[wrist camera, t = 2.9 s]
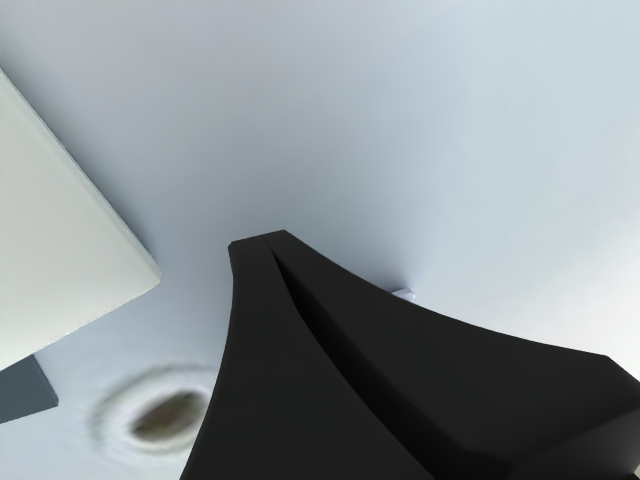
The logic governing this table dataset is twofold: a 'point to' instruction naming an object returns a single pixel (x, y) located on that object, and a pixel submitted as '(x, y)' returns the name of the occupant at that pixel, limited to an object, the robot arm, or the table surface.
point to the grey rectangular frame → (24, 390)
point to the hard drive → (56, 239)
